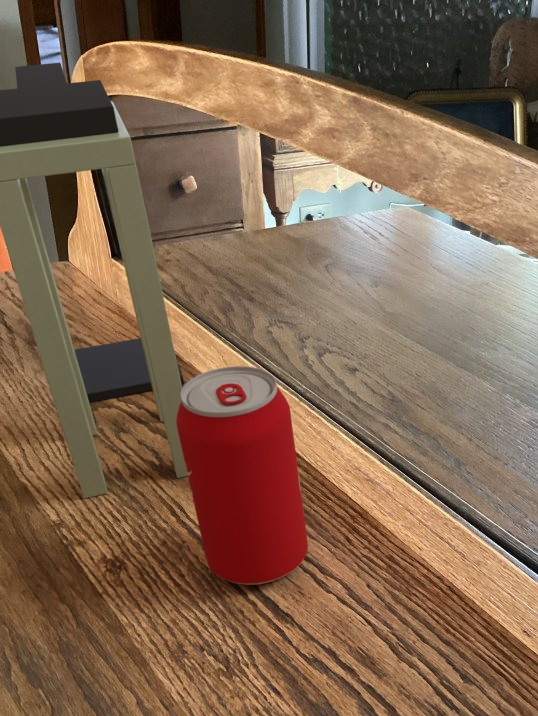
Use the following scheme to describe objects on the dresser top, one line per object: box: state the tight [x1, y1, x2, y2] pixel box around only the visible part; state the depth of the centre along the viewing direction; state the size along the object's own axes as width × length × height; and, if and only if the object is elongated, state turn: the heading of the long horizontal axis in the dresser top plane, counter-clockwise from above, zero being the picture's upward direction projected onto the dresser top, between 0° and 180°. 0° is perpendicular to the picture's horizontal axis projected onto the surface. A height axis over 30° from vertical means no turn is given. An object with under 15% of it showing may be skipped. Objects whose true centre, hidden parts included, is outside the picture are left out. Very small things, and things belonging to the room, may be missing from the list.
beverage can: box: [176, 365, 309, 586], centre depth 52 cm, size 6×6×12 cm
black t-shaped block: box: [0, 62, 118, 147], centre depth 55 cm, size 17×7×1 cm, turn 20°
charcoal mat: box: [74, 337, 185, 403], centre depth 76 cm, size 9×9×1 cm
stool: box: [0, 100, 188, 499], centre depth 59 cm, size 10×8×22 cm
